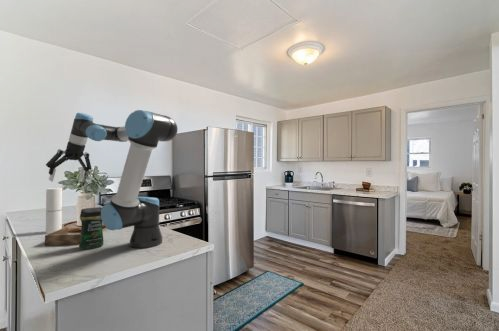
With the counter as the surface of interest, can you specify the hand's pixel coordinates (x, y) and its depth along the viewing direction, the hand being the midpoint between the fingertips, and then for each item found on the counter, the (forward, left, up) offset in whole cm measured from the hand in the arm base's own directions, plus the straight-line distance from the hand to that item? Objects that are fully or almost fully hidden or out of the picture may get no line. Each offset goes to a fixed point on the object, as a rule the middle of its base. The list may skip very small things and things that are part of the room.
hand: (66, 180), depth 127 cm
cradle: (-5, +3, -30) cm, 31 cm away
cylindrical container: (+14, -14, -31) cm, 36 cm away
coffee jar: (-20, +15, -31) cm, 40 cm away
